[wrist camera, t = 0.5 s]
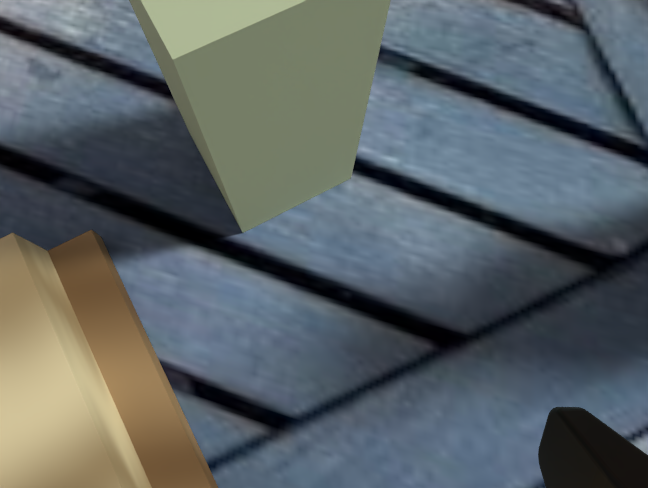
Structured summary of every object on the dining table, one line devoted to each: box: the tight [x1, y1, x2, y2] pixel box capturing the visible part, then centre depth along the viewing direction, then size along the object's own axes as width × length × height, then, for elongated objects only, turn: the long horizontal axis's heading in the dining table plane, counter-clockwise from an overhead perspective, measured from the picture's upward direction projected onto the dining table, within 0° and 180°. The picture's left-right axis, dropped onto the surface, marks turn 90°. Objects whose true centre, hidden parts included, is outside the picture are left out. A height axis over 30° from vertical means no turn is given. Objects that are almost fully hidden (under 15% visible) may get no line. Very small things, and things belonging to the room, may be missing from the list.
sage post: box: [129, 0, 390, 233], centre depth 17 cm, size 5×5×12 cm
